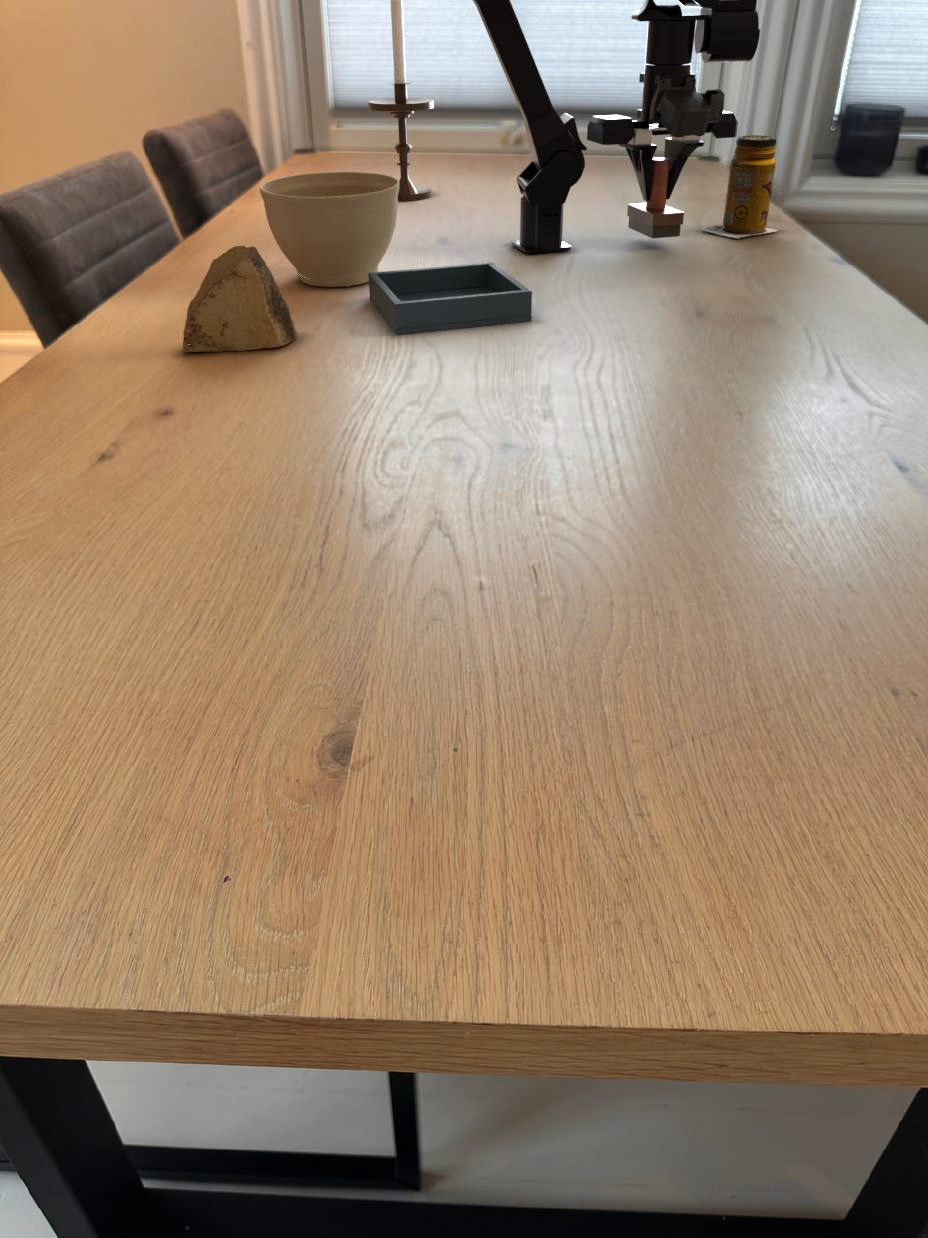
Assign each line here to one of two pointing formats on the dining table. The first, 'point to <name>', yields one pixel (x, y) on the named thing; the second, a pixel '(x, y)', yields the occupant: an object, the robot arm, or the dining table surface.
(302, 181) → the planter bowl
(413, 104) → the candlestick
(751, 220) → the condiment
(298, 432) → the dining table surface
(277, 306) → the rock
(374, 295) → the tray
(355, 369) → the dining table surface
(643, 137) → the robot arm
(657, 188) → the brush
